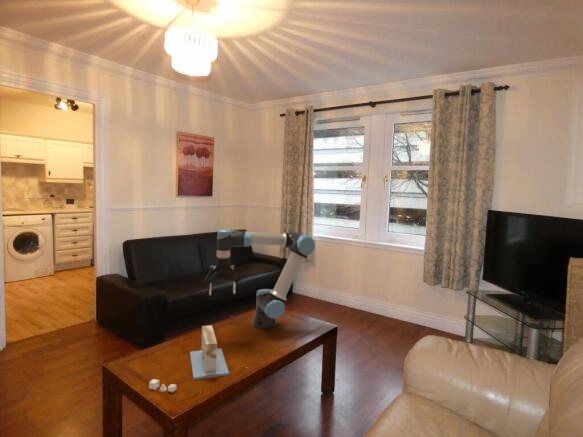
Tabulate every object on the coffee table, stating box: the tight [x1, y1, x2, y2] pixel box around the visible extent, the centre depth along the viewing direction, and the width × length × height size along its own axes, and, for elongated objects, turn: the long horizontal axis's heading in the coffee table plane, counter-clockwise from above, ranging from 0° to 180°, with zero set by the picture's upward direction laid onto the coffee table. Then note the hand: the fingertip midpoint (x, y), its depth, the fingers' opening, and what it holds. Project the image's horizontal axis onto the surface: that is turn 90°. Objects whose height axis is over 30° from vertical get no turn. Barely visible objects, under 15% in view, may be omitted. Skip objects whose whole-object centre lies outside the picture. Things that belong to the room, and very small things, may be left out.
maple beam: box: [201, 324, 218, 359], centre depth 170 cm, size 5×22×7 cm, turn 19°
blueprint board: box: [189, 342, 230, 381], centre depth 171 cm, size 16×26×8 cm, turn 20°
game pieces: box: [148, 378, 177, 393], centre depth 148 cm, size 12×3×3 cm, turn 75°
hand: (222, 293), depth 198 cm, fingers open, 13 cm apart
